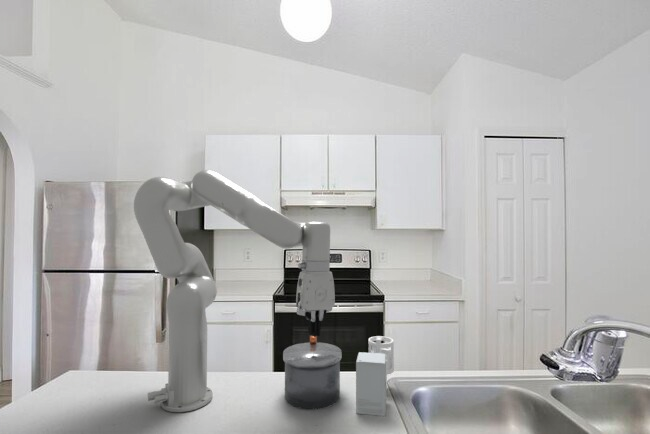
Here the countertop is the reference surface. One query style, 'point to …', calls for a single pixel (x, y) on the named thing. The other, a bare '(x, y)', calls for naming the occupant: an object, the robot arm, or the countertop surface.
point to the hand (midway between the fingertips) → (314, 334)
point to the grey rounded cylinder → (312, 386)
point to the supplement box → (371, 384)
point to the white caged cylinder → (383, 351)
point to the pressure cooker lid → (312, 354)
